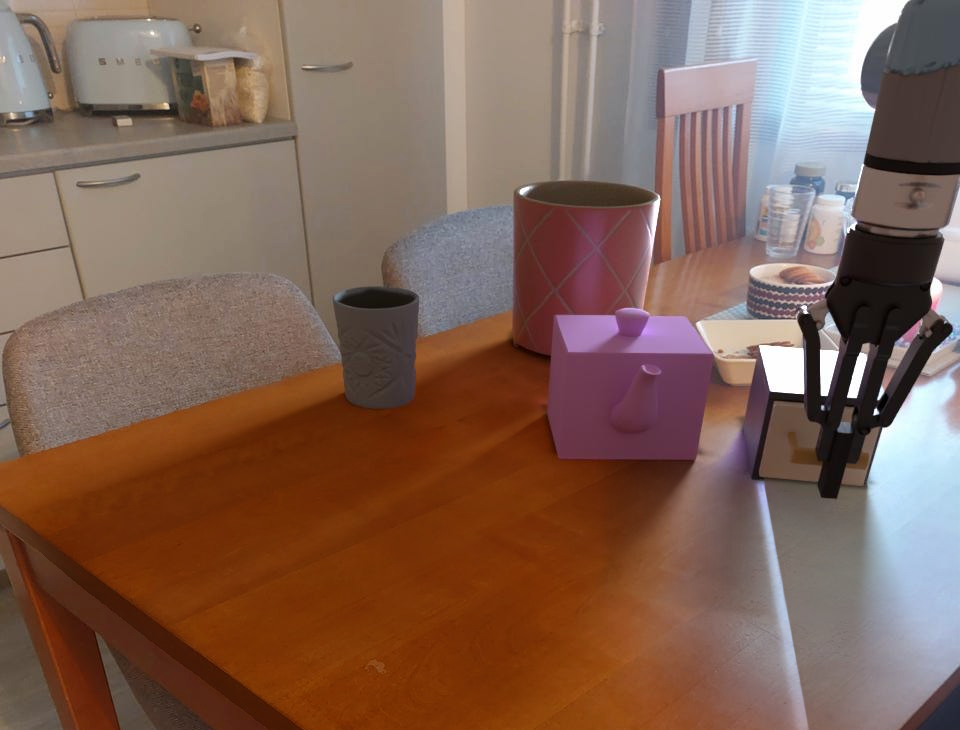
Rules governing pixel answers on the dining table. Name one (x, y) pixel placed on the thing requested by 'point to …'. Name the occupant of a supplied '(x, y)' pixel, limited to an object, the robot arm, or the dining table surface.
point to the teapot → (627, 386)
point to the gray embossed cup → (378, 344)
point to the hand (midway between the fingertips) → (826, 491)
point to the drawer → (805, 446)
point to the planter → (578, 253)
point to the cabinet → (787, 393)
